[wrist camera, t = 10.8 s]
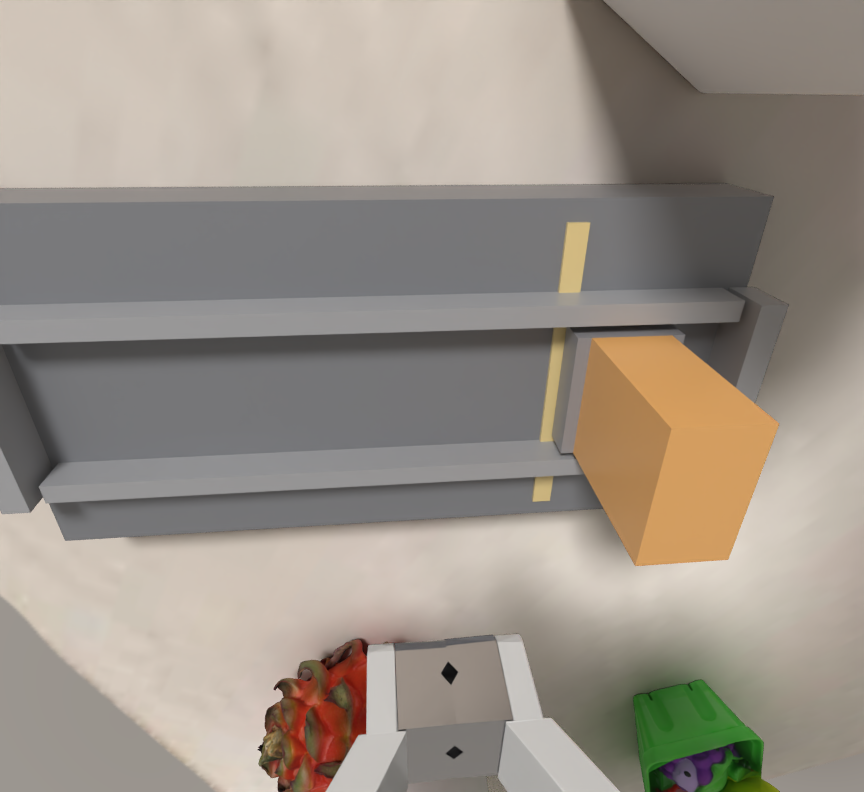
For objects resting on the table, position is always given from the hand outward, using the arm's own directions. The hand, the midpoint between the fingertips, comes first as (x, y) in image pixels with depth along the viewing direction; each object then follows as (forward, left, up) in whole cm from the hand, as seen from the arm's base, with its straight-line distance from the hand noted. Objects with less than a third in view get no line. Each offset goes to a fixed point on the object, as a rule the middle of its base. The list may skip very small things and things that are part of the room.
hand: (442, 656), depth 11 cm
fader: (0, +8, -12) cm, 14 cm away
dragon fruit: (+21, -3, -15) cm, 27 cm away
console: (0, -1, -15) cm, 15 cm away
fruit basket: (+31, +20, -15) cm, 40 cm away
